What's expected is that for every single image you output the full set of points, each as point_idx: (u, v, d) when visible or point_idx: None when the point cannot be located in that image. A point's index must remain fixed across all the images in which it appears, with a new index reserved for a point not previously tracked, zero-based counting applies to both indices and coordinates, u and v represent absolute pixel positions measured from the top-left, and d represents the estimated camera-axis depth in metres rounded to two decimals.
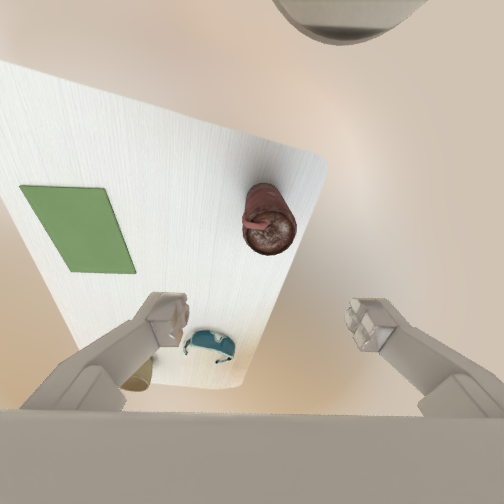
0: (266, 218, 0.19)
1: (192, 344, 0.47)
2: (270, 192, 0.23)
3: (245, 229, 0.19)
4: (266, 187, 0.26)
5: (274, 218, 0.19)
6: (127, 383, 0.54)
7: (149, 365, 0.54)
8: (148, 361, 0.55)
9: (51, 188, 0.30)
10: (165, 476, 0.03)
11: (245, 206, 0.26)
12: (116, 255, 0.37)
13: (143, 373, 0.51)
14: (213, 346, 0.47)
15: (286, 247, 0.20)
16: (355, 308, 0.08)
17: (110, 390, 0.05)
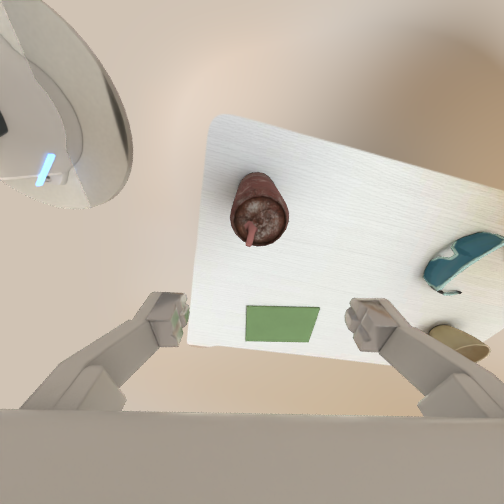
0: (243, 225, 0.18)
1: (438, 287, 0.36)
2: None
3: (254, 244, 0.19)
4: None
5: (242, 217, 0.18)
6: None
7: (451, 331, 0.45)
8: (444, 329, 0.46)
9: (246, 329, 0.48)
10: (165, 476, 0.03)
11: None
12: (298, 314, 0.45)
13: (457, 341, 0.42)
14: (458, 265, 0.32)
15: (278, 202, 0.17)
16: (355, 308, 0.08)
17: (110, 390, 0.05)
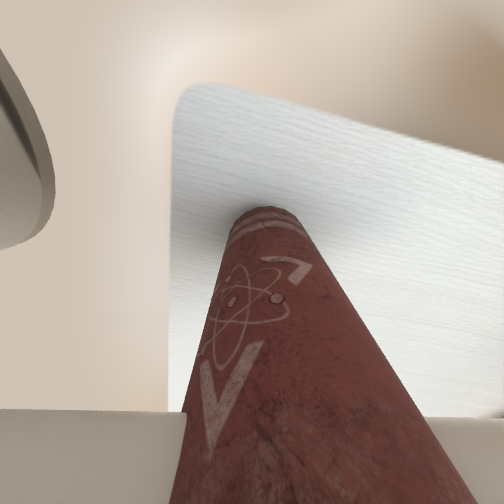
0: None
1: None
2: None
3: None
4: None
5: None
6: None
7: None
8: None
9: None
10: (165, 476, 0.03)
11: None
12: None
13: None
14: None
15: None
16: None
17: None
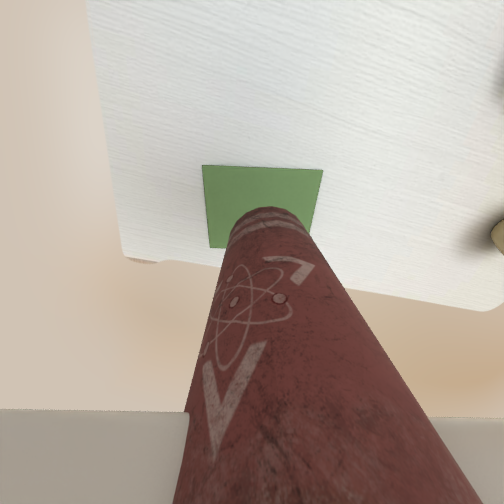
0: None
1: None
2: None
3: None
4: None
5: None
6: None
7: None
8: None
9: (208, 221, 0.31)
10: (165, 476, 0.03)
11: None
12: (288, 186, 0.28)
13: None
14: None
15: None
16: None
17: None
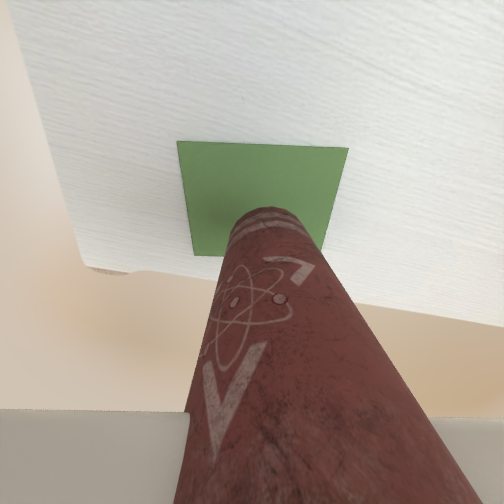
0: None
1: None
2: None
3: None
4: None
5: None
6: None
7: None
8: None
9: (190, 220, 0.23)
10: (165, 476, 0.03)
11: None
12: (299, 172, 0.20)
13: None
14: None
15: None
16: None
17: None
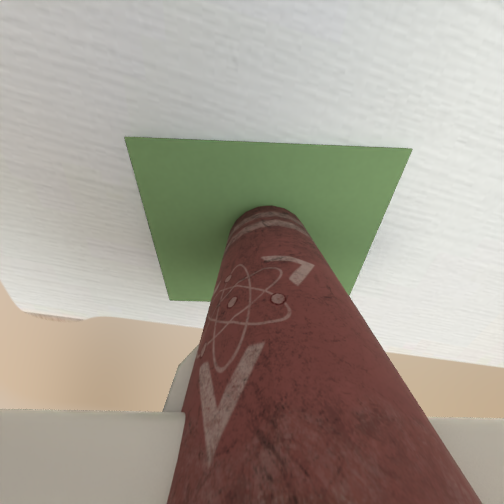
0: None
1: None
2: None
3: None
4: None
5: None
6: None
7: None
8: None
9: (159, 256, 0.15)
10: (165, 476, 0.03)
11: None
12: (327, 187, 0.12)
13: None
14: None
15: None
16: None
17: None
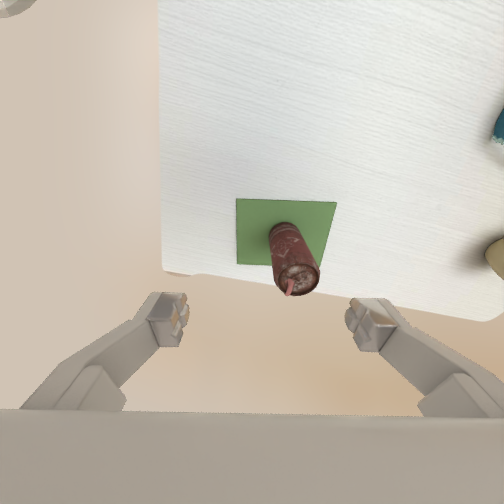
0: (284, 281, 0.24)
1: None
2: (271, 252, 0.29)
3: (291, 294, 0.25)
4: (269, 245, 0.31)
5: (284, 276, 0.23)
6: None
7: None
8: None
9: (237, 242, 0.36)
10: (165, 476, 0.03)
11: None
12: (307, 215, 0.33)
13: None
14: None
15: (313, 267, 0.22)
16: (355, 308, 0.08)
17: (110, 390, 0.05)
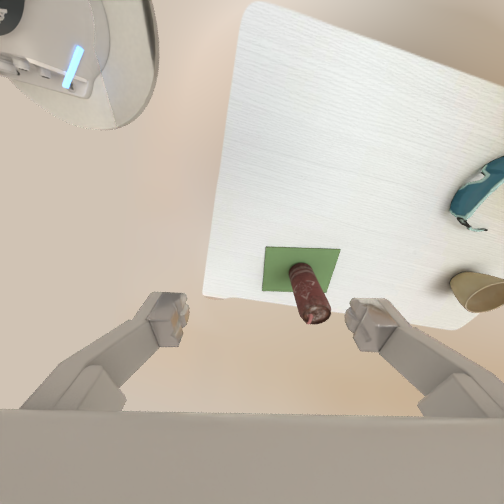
0: (306, 315, 0.35)
1: (467, 214, 0.35)
2: (294, 289, 0.40)
3: (311, 323, 0.36)
4: (291, 282, 0.42)
5: (307, 312, 0.34)
6: (487, 303, 0.45)
7: (474, 274, 0.44)
8: (467, 274, 0.45)
9: (264, 276, 0.47)
10: (165, 476, 0.03)
11: None
12: (318, 257, 0.44)
13: (482, 282, 0.41)
14: (490, 184, 0.32)
15: (327, 307, 0.33)
16: (355, 308, 0.08)
17: (110, 390, 0.05)
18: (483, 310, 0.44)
